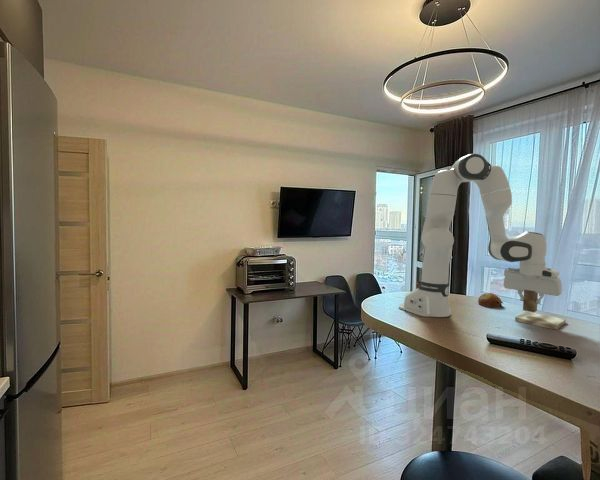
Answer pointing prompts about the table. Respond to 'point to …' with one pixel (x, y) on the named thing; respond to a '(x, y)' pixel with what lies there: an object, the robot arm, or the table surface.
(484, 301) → the bread roll
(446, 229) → the robot arm
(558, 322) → the board
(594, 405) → the table surface
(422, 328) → the table surface
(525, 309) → the walnut block
